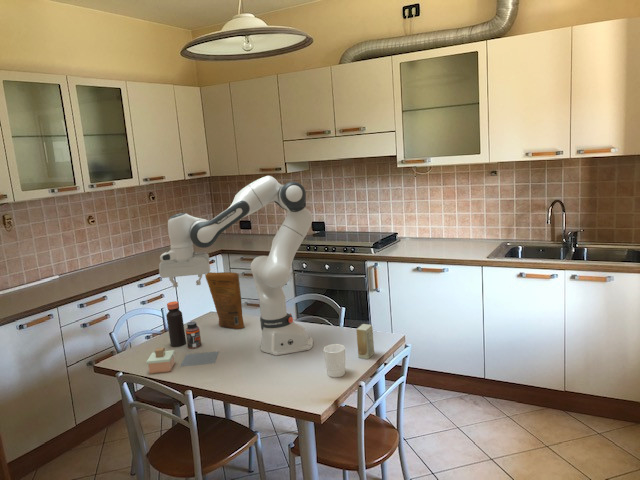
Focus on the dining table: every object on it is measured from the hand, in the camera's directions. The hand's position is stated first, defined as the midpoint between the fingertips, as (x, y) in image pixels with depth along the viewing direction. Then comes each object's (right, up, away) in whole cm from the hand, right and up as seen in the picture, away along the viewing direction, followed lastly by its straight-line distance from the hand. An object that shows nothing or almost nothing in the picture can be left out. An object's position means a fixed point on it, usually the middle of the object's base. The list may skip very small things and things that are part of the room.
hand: (187, 285), depth 216 cm
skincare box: (+73, -27, -8) cm, 78 cm away
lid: (-9, -29, -5) cm, 30 cm away
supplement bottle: (-1, -29, +17) cm, 33 cm away
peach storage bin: (-9, -33, -4) cm, 35 cm away
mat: (+5, -31, +2) cm, 31 cm away
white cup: (+61, -31, -21) cm, 71 cm away
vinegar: (-9, -29, +20) cm, 36 cm away
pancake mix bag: (+11, -23, +39) cm, 47 cm away
